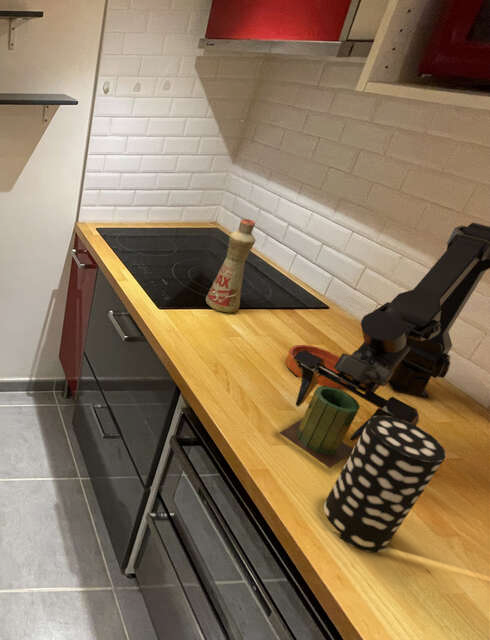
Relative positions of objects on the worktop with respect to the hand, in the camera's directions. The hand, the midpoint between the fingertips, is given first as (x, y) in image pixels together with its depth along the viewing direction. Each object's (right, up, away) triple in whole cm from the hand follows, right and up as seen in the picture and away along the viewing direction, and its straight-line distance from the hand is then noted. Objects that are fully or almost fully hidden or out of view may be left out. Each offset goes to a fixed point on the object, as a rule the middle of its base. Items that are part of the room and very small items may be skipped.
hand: (323, 421), depth 84 cm
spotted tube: (-4, -13, -11) cm, 17 cm away
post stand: (+1, -6, +3) cm, 7 cm away
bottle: (+10, +14, +49) cm, 52 cm away
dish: (+17, +3, +23) cm, 28 cm away
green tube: (+1, -5, +3) cm, 6 cm away
